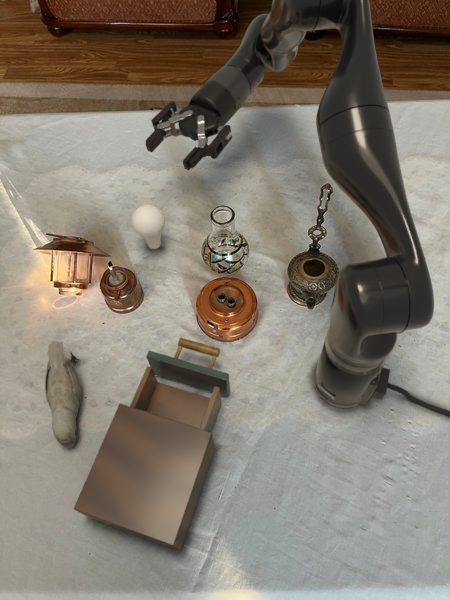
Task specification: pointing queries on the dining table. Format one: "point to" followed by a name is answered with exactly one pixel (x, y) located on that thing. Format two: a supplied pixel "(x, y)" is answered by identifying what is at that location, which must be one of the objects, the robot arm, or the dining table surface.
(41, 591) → the dining table surface
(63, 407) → the decorative bird
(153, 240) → the lightbulb
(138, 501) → the cabinet
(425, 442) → the dining table surface
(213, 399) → the drawer
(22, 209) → the dining table surface
